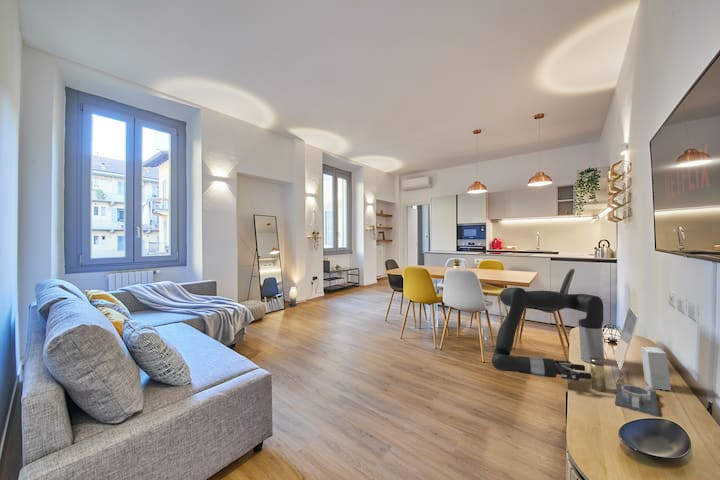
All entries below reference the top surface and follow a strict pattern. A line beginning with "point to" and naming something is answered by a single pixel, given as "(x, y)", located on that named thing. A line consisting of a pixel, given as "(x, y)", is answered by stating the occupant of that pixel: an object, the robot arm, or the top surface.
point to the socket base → (637, 398)
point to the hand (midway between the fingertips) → (587, 372)
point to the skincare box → (655, 368)
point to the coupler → (597, 374)
